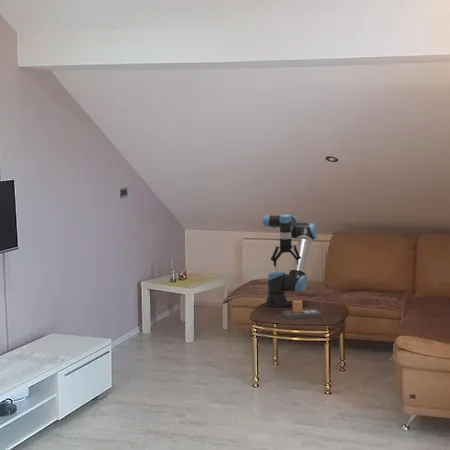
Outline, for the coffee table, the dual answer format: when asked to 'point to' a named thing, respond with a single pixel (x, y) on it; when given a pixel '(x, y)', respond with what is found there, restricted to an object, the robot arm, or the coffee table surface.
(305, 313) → the power strip
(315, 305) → the coffee table surface
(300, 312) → the charger
